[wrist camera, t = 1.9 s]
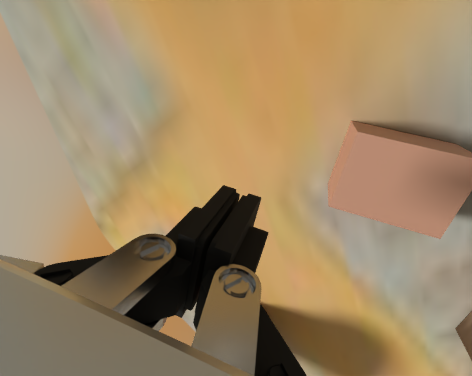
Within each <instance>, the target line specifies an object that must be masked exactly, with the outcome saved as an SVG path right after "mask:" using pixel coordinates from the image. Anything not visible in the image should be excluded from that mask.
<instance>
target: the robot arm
mask: <svg viewBox="0 0 472 376" xmlns="http://www.w3.org/2000/svg"><path fill="white" fill-rule="evenodd" d="M239 195H240V194H238V193H236V189H234V188H231V187H228V186H225V185H223V186H222V187H221V188H220V189H219V191H218V192H217V193H216V194H215V195H214V196H213V197H212V198H211V199H210V200H209V201H208V202H207V204H206V205H205V206H204V207H203V208H202V209H201V208H199V207H194V208H193V209H192V210H191V211H190V212H189V213H188V214H187V215H186V216H185V217H184V218H183V219H182V220H181V221H180V222H179V223H178V224H177V225H176V226H175V227H174V228H173V229H172V230H171V231H170V232H169V233H168V234H167V235H166V236H163V235H160V234H146V235H142V236H139V237H137V238H135V239H134V240H132V241H130V242H129V243H127V244H126V245H124V246H123V247H121V248H120V249H118V250H116V251H115V252H113V253H112V254H110V255H107V256H101V257H94V258H88V259H81V260H75V261H68V262H62V263H56V264H52V265H49V266H46V267H44V264H43V263H38V262H32V261H28V260H23V259H17V258H12V257H7V256H2V255H0V376H306V374H305V372H304V370H303V369H302V367H301V366H300V364H299V363H298V361H297V360H296V358H295V356H294V355H293V353H292V352H291V350H290V349H289V347H288V346H287V344H286V343H285V341H284V339H283V338H282V336H281V335H280V333H279V332H278V330H277V329H276V327H275V325H274V324H273V322H272V321H271V319H270V318H269V316H268V315H267V313H266V312H265V310H264V308H263V307H262V305H261V304H260V299H261V282H260V280H259V278H258V276H257V275H256V274H255V272H256V269H257V266H258V263H259V260H260V257H261V254H262V251H263V248H264V245H265V242H266V239H267V236H268V232H266V231H263V230H261V229H258V228H255V227H253V225H254V222H255V218H256V215H257V211H258V208H259V205H260V201H261V197H258V196H255V195H252V194H248V195H247V196H244V195H243V196H242V197H241V199H240V200H239ZM238 200H239V201H238ZM196 302H197V304H196ZM195 304H196V309H195V317H194V322H193V323H194V326H195V328H196V334H195V337H194V340H193V343H192V346H189V345H187V344H185V343H182V342H180V341H178V340H176V339H174V338H172V337H169V336H167V335H165V334H163V333H161V332H159V330H160V329H161V328H162V327H163V325H164V323H165V322H166V318H167V317H170V316H174V315H177V316H179V317H181V318H182V316H183V315H184V313H185V311H186V310H187V309H188V310H190V311H191V310H192V309H193V307H194V306H195Z"/></svg>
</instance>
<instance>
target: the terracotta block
mask: <svg viewBox="0 0 472 376" xmlns="http://www.w3.org/2000/svg"><path fill="white" fill-rule="evenodd" d="M471 191H472V152H470V151H468V150H466V149H464V148H462V147H460V146H459V145H457V144H453V143H449V142H445V141H440V140H436V139H431V138H427V137H422V136H418V135H413V134H409V133H404V132H400V131H395V130H391V129H386V128H382V127H377V126H373V125H369V124H364V123H360V122H355V121H351V122H350V125H349V128H348V131H347V133H346V136H345V139H344V141H343V144H342V147H341V150H340V152H339V155H338V158H337V160H336V163H335V166H334V169H333V171H332V174H331V177H330V180H329V182H328V200H329V207H333V208H336V209H339V210H343V211H346V212H350V213H353V214H357V215H360V216H363V217H367V218H370V219H374V220H377V221H381V222H384V223H387V224H391V225H394V226H398V227H401V228H405V229H408V230H411V231H415V232H418V233H422V234H425V235H429V236H432V237H436V238H439V239H440V238H441V237H442V235H443V234H444V232H445V231H446V229H447V228H448V226H449V225H450V223H451V222H452V220H453V218H454V217H455V215H456V214H457V212H458V211H459V209H460V208H461V206H462V205H463V203H464V202H465V200H466V199H467V197H468V196H469V194H470V192H471Z"/></svg>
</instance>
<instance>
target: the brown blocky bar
mask: <svg viewBox="0 0 472 376" xmlns="http://www.w3.org/2000/svg"><path fill="white" fill-rule="evenodd" d="M456 331H457V333H458V335H459V337H460V339H461V340H462V342H463V344H464V346H465V348H466V350H467V352H468V354H469V356H470V358H471V360H472V311H471V312H470V313H469V314H468V316H467V317H466V318H465V319H464V320H463V321H462V322H461V323H460V324H459V325H458V326H457V327H456Z"/></svg>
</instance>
